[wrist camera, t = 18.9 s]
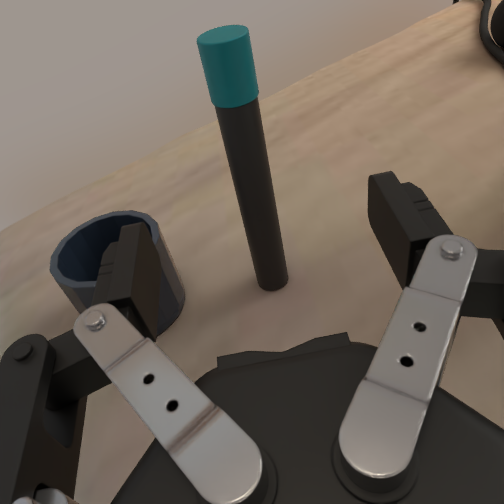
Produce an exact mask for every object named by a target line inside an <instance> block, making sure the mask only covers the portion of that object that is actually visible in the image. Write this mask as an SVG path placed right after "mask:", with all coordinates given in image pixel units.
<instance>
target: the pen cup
mask: <svg viewBox="0 0 504 504" xmlns="http://www.w3.org/2000/svg"><path fill="white" fill-rule="evenodd" d="M140 222H144V223H145V225H146V227H147V229H148V231H149V233H150V235H151V238H152V240H153V242H154V244H155V246H156V249H157V251H158V253H159V256H160V260H161V282H160V296H159V309H158V322H157V335H159V334H161V333H162V332H163V331H165V330H166V329H167V328H168V327H169V326H170V325H171V324H172V323H173V322H174V321H175V320H176V318H177V317H178V315H179V314H180V312H181V310H182V307H183V305H184V300H185V289H184V286H183V284H182V281H181V277H180V275H179V273H178V270H177V268H176V265H175V263H174V261H173V258H172V256H171V254H170V251H169V249H168V247H167V244H166V242H165V240H164V237H163V235H162V233H161V230H160V228H159V226H158V223H157V222H156V221H155V220H154V219H153V218H151V217H150V216H149V215H148V214H146V213H141V212H137V211H133V210H129V211H116V212H111V213H108V214H105V215H101V216H98V217H95V218H93V219H91V220H89V221H87V222H85V223H84V224H82V225H80V226H78V227H76V228H75V229H74V230H73V231H72V232H70V233H69V234H68V235H67V236H66V237H65V238H64V239H62V240H61V242H60V243H59V244H58V246H57V247H56V249H55V251H54V252H53V254H52V255H51V261H50V272H51V274H52V276H53V277H54V279H55V280H56V282H57V283H58V285H59V286H60V287H61V289H62V290H63V292H64V293H65V294H66V296H67V297H68V298H69V300H70V301H71V303H72V304H73V305H74V307H75V308H76V309H77V311H78V312H79V314H81V313H82V312H84V311H85V310H86V309H88V308H90V307H91V303H92V299H93V295H94V290H95V286H96V282H97V277H98V276H99V275H98V273H99V269H100V267H101V265H100V264H101V260H102V256H103V253H104V252H105V250H106V249H107V248H108V246H109V245H110V243H113V242H118V241H119V236H120V231H121V227H122V226H126V225H130V224H135V223H140ZM157 335H156V336H157Z"/></svg>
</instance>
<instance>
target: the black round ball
mask: <svg viewBox="0 0 504 504" xmlns="http://www.w3.org/2000/svg"><path fill="white" fill-rule="evenodd" d="M491 34H492V36H493V39H494V40H495V42H496V43H497V44H498V45H499V46H501V47H503V48H504V0H502V1H501V2H500V3H499V5H498V6H497V8H496V9H495V11H494V13H493V16H492V20H491Z"/></svg>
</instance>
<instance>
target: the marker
mask: <svg viewBox="0 0 504 504" xmlns="http://www.w3.org/2000/svg"><path fill="white" fill-rule="evenodd" d="M197 45H198V49H199V53H200V57H201V61H202V65H203V69H204V73H205V77H206V81H207V85H208V89H209V93H210V97H211V101H212V103H213V105H214V106H215V109H216V113H217V117H218V122H219V126H220V130H221V134H222V138H223V142H224V146H225V150H226V154H227V158H228V162H229V167H230V171H231V175H232V179H233V183H234V187H235V191H236V195H237V199H238V203H239V207H240V211H241V216H242V220H243V224H244V228H245V232H246V236H247V240H248V244H249V248H250V252H251V256H252V260H253V265H254V269H255V273H256V277H257V281H258V284H259V286H260V287H261V288H263V289H265V290H270V291H272V290H278V289H280V288H282V287H283V286H284V285H285V284H286V283H287V281H288V273H287V267H286V261H285V255H284V250H283V244H282V238H281V232H280V226H279V220H278V214H277V208H276V202H275V197H274V191H273V185H272V179H271V173H270V167H269V161H268V155H267V149H266V144H265V138H264V132H263V126H262V120H261V114H260V108H259V102H258V97H257V96H258V93H259V90H258V84H257V79H256V73H255V66H254V60H253V54H252V48H251V42H250V36H249V30H248V28H247V27H245V26H242V25H228V26H222V27H218V28H214V29H212V30H209V31H207V32H205V33H203V34H201V35H200V36H199V37H198V38H197Z"/></svg>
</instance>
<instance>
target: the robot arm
mask: <svg viewBox="0 0 504 504" xmlns="http://www.w3.org/2000/svg"><path fill="white" fill-rule="evenodd" d="M482 1H483V3H484V6H483V8H482V11H481V19H480V36H481V39H482V41H483V43H484V45H485V46H486V48H487V49H488V50H489V52H490V53H491V54H492V55H493V56H494V57H495V58H497V59H498V60H499V61H500V62H501V63H503V64H504V51H503V50H501V49H500V48H499V47H498V46H497V45H496V44H495V43H494V41H493V40H492V38H491V36H490V34H489V31H488V13H489V10H490V7H491V0H482ZM457 2H459V0H453V4H455V3H457ZM453 4H452V5H453ZM368 217H369V222H370V225H371V228H372V230H373V232H374V234H375V236H376V238H377V240H378V242H379V244H380V246H381V248H382V250H383V252H384V254H385V256H386V258H387V260H388V262H389V264H390V266H391V268H392V270H393V272H394V274H395V276H396V278H397V280H398V282H399V284H400V286H401V288H402V290H403V292H402V294H401V296H400V298H399V301H398V303H397V305H396V307H395V310H394V312H393V314H392V317H391V319H390V321H389V323H388V326H387V328H386V330H385V333H384V335H383V337H382V339H381V342H380V344H379V346H378V347H375V346H372V345H369V344H365V343H360V342H350V340H349V337H348V334H347V332H344V333H339V334H334V335H329V336H323V337H318V338H314V339H312V340H309V341H307V342H305V343H303V344H300V345H298V346H296V347H294V348H291V349H289V350H287V351H284V352H264V351H246V352H240V353H235V354H230V355H225V356H220V357H217V368H214V369H212V370H211V371H209V372H207V373H206V374H204V375H203V376H202V377H200V378H199V379H198V380H197V381H196V382H195V383H193V382H192V381H191V380H190V379H189V378H188V377H187V376H186V375H185V374H184V373H183V372H182V371H181V370H180V369H179V368H178V367H177V366H176V365H175V364H174V363H173V362H172V361H171V360H170V359H169V358H168V357H167V355H166V354H165V353H164V352H163V351H162V350H161V349H160V348H159V347H158V346H157V345H156V344H155V343H154V342H156V335H157V322H158V309H159V296H160V282H161V260H160V256H159V253H158V251H157V249H156V246H155V244H154V242H153V240H152V238H151V235H150V233H149V231H148V229H147V227H146V225H145V223H144V222H140V223H135V224H130V225H126V226H122V227H121V231H120V236H119V241H118V242H113V243H110V245H109V246H108V248H107V249H106V250H105V252H104V253H103V256H102V260H101V264H100V265H101V267H100V269H99V273H98V275H99V276H98V277H97V282H96V286H95V290H94V295H93V299H92V303H91V307H90V308H88V309H86V310H85V311H84V312H82V313H81V314H80V315H79V317H78V318H77V320H76V321H75V324H74V327H73V329H72V330H70V331H68V332H66V333H64V334H62V335H60V336H57V337H55V338H53V339H51V340H49V341H48V340H47V339H46V338H45V337H44V336H42V335H40V334H31V335H27V336H24V337H22V338H20V339H18V340H17V341H15V342H14V343H13V344H12V345H11V346H10V347H9V348H8V349H7V350H6V351H5V353H4V355H3V356H2V359H1V362H0V504H79V503H77V502H76V501H74V500H73V499H74V492H75V485H76V477H77V470H78V462H79V455H80V448H81V440H82V433H83V426H84V418H85V411H86V403H87V396H88V395H89V394H91V393H93V392H95V391H97V390H99V389H100V388H102V387H104V386H106V385H108V384H110V383H113V384H114V385H115V387H116V388H117V389H118V390H119V392H120V393H121V394H122V395H123V397H124V398H125V399H126V400H127V402H128V403H129V404H130V406H131V407H132V408H133V409H134V411H135V412H136V413H137V414H138V416H139V417H140V418H141V420H142V421H143V422H144V423H145V425H146V426H147V427H148V428H149V430H150V431H151V432H152V434H153V435H154V436H155V439H154V440H153V442H152V443H151V445H150V446H149V448H148V449H147V451H146V452H145V454H144V455H143V457H142V458H141V459H140V461H139V462H138V464H137V465H136V467H135V468H134V470H133V471H132V473H131V474H130V476H129V477H128V478H127V480H126V481H125V483H124V484H123V486H122V487H121V489H120V490H119V492H118V493H117V495H116V496H115V498H114V499H113V500H112V502H111V503H110V504H504V429H502V428H501V427H499V426H498V425H496V424H495V423H493V422H492V421H490V420H489V419H487V418H486V417H484V416H483V415H481V414H480V413H478V412H477V411H475V410H474V409H472V408H471V407H469V406H468V405H466V404H465V403H463V402H462V401H460V400H459V399H457V398H456V397H454V396H453V395H451V394H450V393H448V392H447V391H445V390H444V389H442V388H441V387H440V384H441V381H442V378H443V374H444V371H445V367H446V364H447V360H448V357H449V354H450V351H451V348H452V344H453V341H454V338H455V335H456V332H457V328H458V325H459V322H460V319H461V316H467V317H480V318H492V320H493V322H494V324H495V325H496V327H497V329H498V330H499V332H500V334H501V336H502V337H503V339H504V250H485V249H478V248H476V247H475V245H474V244H473V243H472V242H471V241H469V240H468V239H466V238H463V237H461V236H457V235H454V234H453V233H452V231H451V230H450V229H449V227H448V226H447V224H446V223H445V222H444V220H443V219H442V217H441V216H440V215H439V213H438V212H437V210H436V209H434V206H433V205H432V203H431V202H430V201H428V198H427V196H426V195H425V194H424V192H423V191H422V189H420V188H418V187H417V186H415V185H413V184H412V183H410V182H407V183H402V184H401V183H400V182H399V180H398V179H397V177H396V176H395V174H394V173H393V172H392V171H389V172H384V173H379V174H374V175H370V176H369V179H368Z"/></svg>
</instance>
